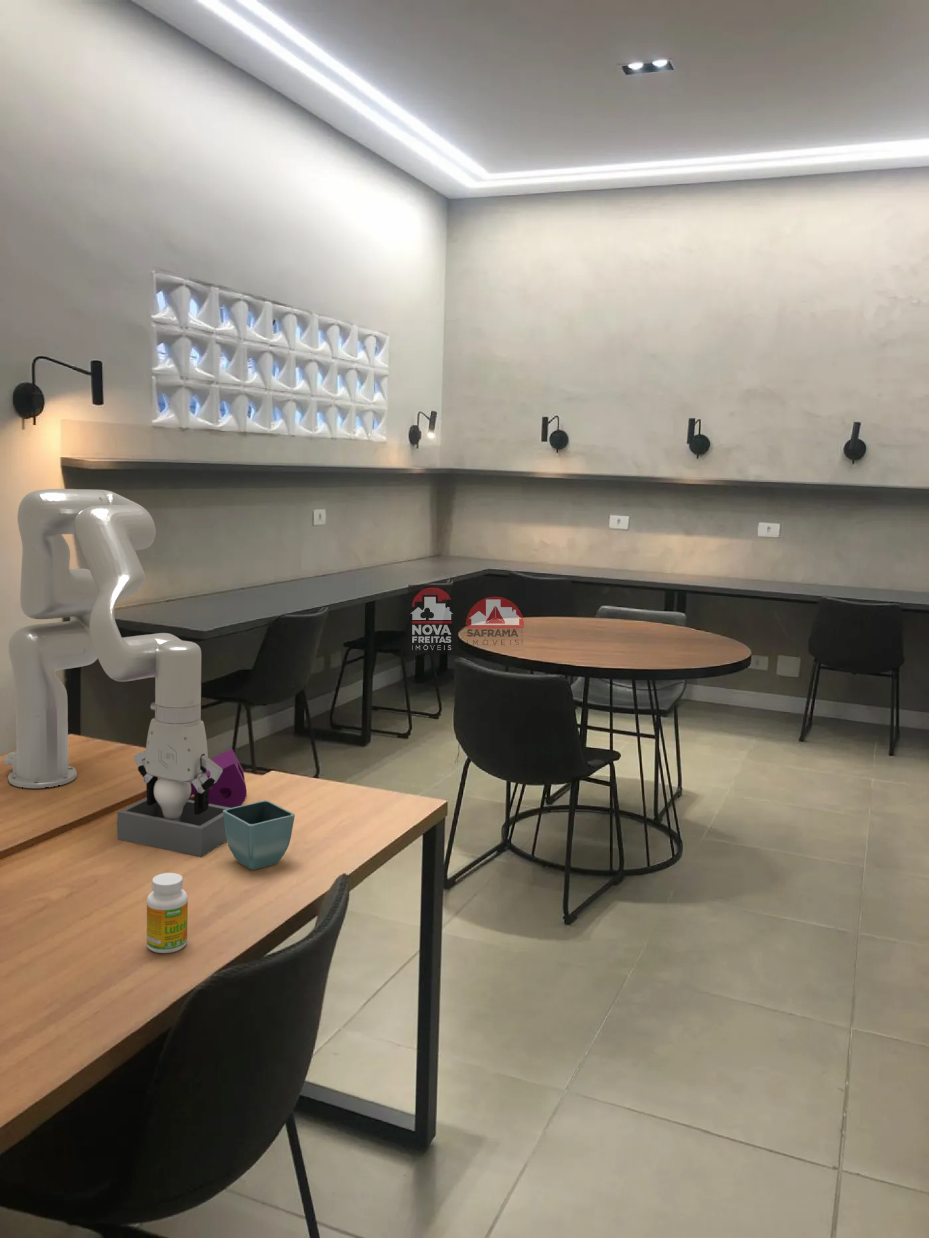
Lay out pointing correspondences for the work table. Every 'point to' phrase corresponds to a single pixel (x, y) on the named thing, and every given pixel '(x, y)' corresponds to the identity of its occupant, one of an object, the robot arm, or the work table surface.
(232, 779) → the mounting bracket
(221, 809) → the open box
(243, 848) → the flower pot
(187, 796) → the lightbulb
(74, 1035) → the work table surface
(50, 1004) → the work table surface
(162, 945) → the supplement bottle
